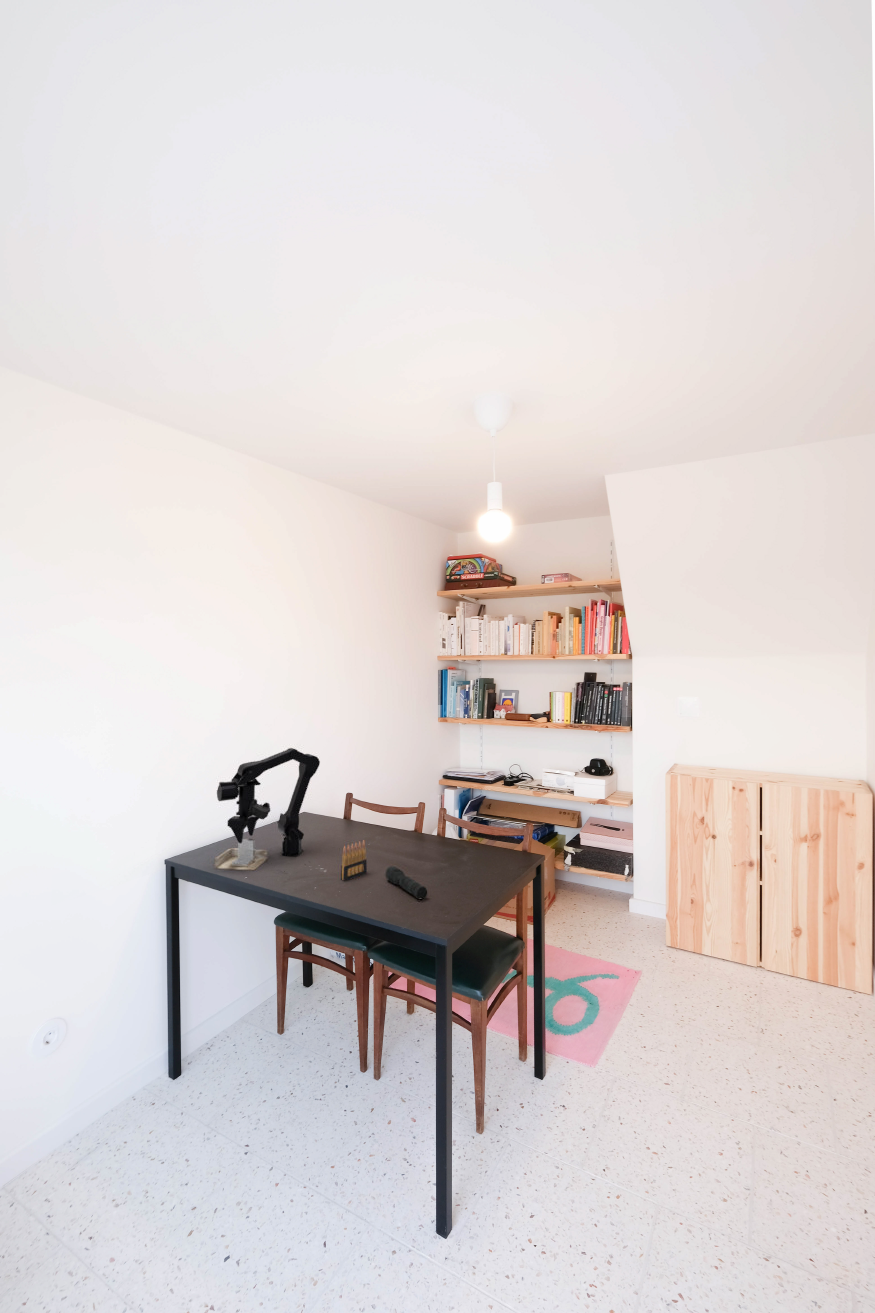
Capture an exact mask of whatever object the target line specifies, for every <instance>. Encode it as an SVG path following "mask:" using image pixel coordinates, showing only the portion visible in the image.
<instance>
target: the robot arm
mask: <svg viewBox="0 0 875 1313" xmlns="http://www.w3.org/2000/svg"><path fill="white" fill-rule="evenodd" d="M292 760H293V761H295V762H297V763H299V764H298V778H297V780H296V784H295V786H294V790H293V792H292V795H291V797H290V801H289V804H288V808H287V810H286V811H285V812H284V813H280V814H279V819H278V820H277V829H278V831H279V832H280V833H281V834H282V836H283V841H282V844H281V845H282V847H281V851H282V853H281V855H282V856H288V857H289V856H293V857H298V856H299V855H300V854H301V853H302V852H303V851H304V850H303V849H302V840H303V839H304V835H305V834H304V832H302V831H301V830H300V829H299V826H300V811H301V809H302V805H303V803H304V799H305V796H306V794H307V791H308V788H309V784H310V781H311V779H312V777H313V776H314V775H315V774H316V773H317V770H318V769H319V767H320V763H321V761H320V759H319V758H318V756H316V755H313V754H310V753H303V752H301V751H298V750H297V749H296V748H293V747H290V748H287V749H285V750H284V751H281V752H278V753H276V754H274V755H270V756H269V757H265V758H263V759H260V760H257V761H255V760H254V761H248V762H243V763H242V764H240V765H239V766H238V768H237V772H236V773H235V775H234V776H233V778H231V780H230V781H219V782H218V786H217V790H216V798H217V801H218V802H223V801H231V800H232V801H233V800H236V799H237V798H238V800H237V801H236V805H238V811H236V812H235V815H234V816H232V817H230V818H228V820H227V825H226V826H227V827H229V828H230V829H231V831H232V833H233V835H234V836H235V838H236V840H237V843H238V842H239V843H242V840H243V839H244V832H245V830H246V829H247V831H248V834H249V836H251V837H252V836H253V835H254V831H255V830H256V826H257V822H258V821H259V820H265V818H267V817H268V816H269V813H270V812H271V806H270V803H269V802H264V803H263V804H262V803H258V800H257V799H256V798H255V796H256V795H255V793H256V791H255V789H256V786H260V785H261V782H259V781H258V779H257V778H258V777H260V776H261V775H263V773H264V772H266V771H268V770H270V769H273V768H275V767H278V766H280V765H283V764H285V763H287V762H290V761H292Z"/></svg>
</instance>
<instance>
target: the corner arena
mask: <svg viewBox="0 0 875 1313" xmlns="http://www.w3.org/2000/svg"><path fill="white" fill-rule="evenodd" d="M237 858H238V847H237V848H234V847H230V848H227V850H225V851H223V852H222V853H221V854H219V855H217V856H216V857H215V858H214V869H218V870H219V869H221V870H238V871H255V870H257V869H258V868H259V867H260V866H262V864H264V863H265V862H266V861H267V860H268V849H256V848H255V861H254V862H252V863H251V864H250V865H249V866H248V867H242V866H232V862H233V861H235V860H236V859H237Z"/></svg>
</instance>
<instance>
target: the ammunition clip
mask: <svg viewBox="0 0 875 1313" xmlns="http://www.w3.org/2000/svg"><path fill="white" fill-rule="evenodd" d="M366 856H367V850H366V841H365V840H364V839H363V841H362V842H361V841H359V843H357V842H355V844H354V843H352V844H351V846H350V844H348V845H347V847H346V845H344V846H343V850H342V858H341V859H342V860H341V861H342V862H341V865H340V881H342V882H346V880H347V881H350V880H352V879H355V878H358V877H361V876H362V875H363V876H364V875H366V874H367V872H368V871H367V867H368V866H367V865H368V864H367V861H368V860H367V858H366ZM360 875H361V876H360ZM357 876H358V877H357ZM354 877H355V878H354ZM351 878H352V879H351Z"/></svg>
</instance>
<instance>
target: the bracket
mask: <svg viewBox="0 0 875 1313" xmlns="http://www.w3.org/2000/svg"><path fill="white" fill-rule="evenodd" d="M237 848H238V858H237V859H236V860H235V861H233V862H232V866H242V867H248V866H249V865H250V864H251V863H252V862H254V861H255V849H256V839H253V838H252V839H251V838H243V840H242V843H239V842H238V841H237Z"/></svg>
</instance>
